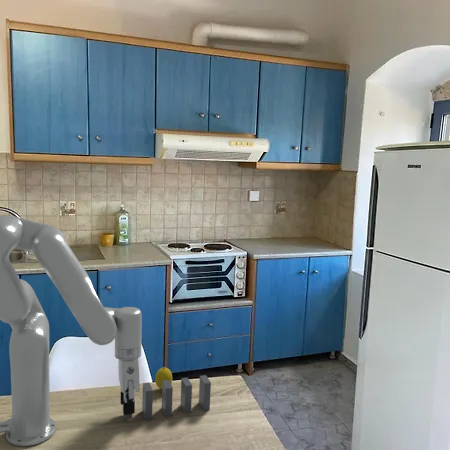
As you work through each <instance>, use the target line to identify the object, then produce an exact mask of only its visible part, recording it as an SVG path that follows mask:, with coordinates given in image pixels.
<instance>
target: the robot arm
mask: <svg viewBox="0 0 450 450" xmlns="http://www.w3.org/2000/svg"><path fill="white" fill-rule="evenodd" d="M15 249H17V250H21V251H25V252H30V253H33V255H34V257H35V259H36V260H37V261H38V263H39V265H40V266H41V268H42V270H43V271H44V272H45V273H46V274H47V276H48V277H49V279H50V280H51V282H52V283H53V285H54V286H55V288H56V289H57V291H58V292H59V294H60V296H61V297H62V299H63V301H64V302H65V304H66V305H67V306H68V308H69V310H70V312H71V313H72V315H73V317H74V318H75V321H77V323H78V325H79V326H80V328H81V329H82V330H83V332H84V333H85V335H86V336H87V337H88V339H89V340H90V341H91V342H92V343H94V344H95V345H99V346H106V345H109V344H111V343H112V342H114V357H115V358H116V359H117V360H118V366H117V367H118V369H117V370H118V381H119V385H120V390H121V391H120V405H122V413H123V416H124V415H129V414H132V415H133V414H135V410H136V407H135V406H136V405H135V404H136V400H135V392H140V388H141V387H140V363H139V358H140V357H141V356H142V331H143V330H142V329H143V328H142V327H143V326H142V325H143V323H142V322H143V321H142V320H143V314H142V310H140V308H137V307H135V306H133V307H132V306H123V307H120V308H119V307H106V306H104V305H103V304H102V302H101V301H100V298H99V297H98V295H97V293H96V291H95V289H94V285H93V283H92V281H91V278H90V276H89V274H88V272H87V271H86V270H85V269H84V266H82V264H81V263H80V261H79V259H78V258H77V256H76V255H75V254H74V251H73V250H72V248H71V247H70V245H69V244H68V243H67V241H66V236H65V235H64V233H63V232H62V230H60V229H58V228H57V227H55V226H52V225H48V224H44V223H40V222H37V221H33V220H29V219H25V218H22V217H19V216H18V217H17V216H15V215H9V214H7V215H6V214H5V215H0V321H1V322H2V323H5V324H9V326H10V328H11V329H12V330H11V335H10V338H9V339H10V340H9V347H8V348H9V349H8V353H9V362H10V384H11V385H10V387H11V390H10V391H11V416H10V417H11V418H7V419H6V420H0V433H1V434H3V433H5V437H6V438H5V439H6V441H7V442H8V443H9V444H11V445H13V446H17V447H28V446H34V445H39V444H42V443H43V442H45V441H46V440H48V439H50V438H51V437H52V436H53V435H54V434H55V433H56V428H57V425H56V421H55V420H54V419H53V418H51V409H50V408H51V406H50V401H51V400H50V399H51V395H50V393H51V391H50V323H49V320H48V317H47V315H46V313H45V311H44V309H43V307H42V305H41V303H40V301H39V298H38V297H37V294H36V293H35V290H34V289H33V287H32V286H31V284H29V282H27V281H26V280H24V279H21V278H19V276H18V274H17V272H16V269H15V268H14V265H13V264H12V262H11V260H10V255H11V253H12V251H14V250H15ZM127 389H128V391H126V390H127ZM123 393H124V401H123ZM127 394H129V395H128V396H127Z"/></svg>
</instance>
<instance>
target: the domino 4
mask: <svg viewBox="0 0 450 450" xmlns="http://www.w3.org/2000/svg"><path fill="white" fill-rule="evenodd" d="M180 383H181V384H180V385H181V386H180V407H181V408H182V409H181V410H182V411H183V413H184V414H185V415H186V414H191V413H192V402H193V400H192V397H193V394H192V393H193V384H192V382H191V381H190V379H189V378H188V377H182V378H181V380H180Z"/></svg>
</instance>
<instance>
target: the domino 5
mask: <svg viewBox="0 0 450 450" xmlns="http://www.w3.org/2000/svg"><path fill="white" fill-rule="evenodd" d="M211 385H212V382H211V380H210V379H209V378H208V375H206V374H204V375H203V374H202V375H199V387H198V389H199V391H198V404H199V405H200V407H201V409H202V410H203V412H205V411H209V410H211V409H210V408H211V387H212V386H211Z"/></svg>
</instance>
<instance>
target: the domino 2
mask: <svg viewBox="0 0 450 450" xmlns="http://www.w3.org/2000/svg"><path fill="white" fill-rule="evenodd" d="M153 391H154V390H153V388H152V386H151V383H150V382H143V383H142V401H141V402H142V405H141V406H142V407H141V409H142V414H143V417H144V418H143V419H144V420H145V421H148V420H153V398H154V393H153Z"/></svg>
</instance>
